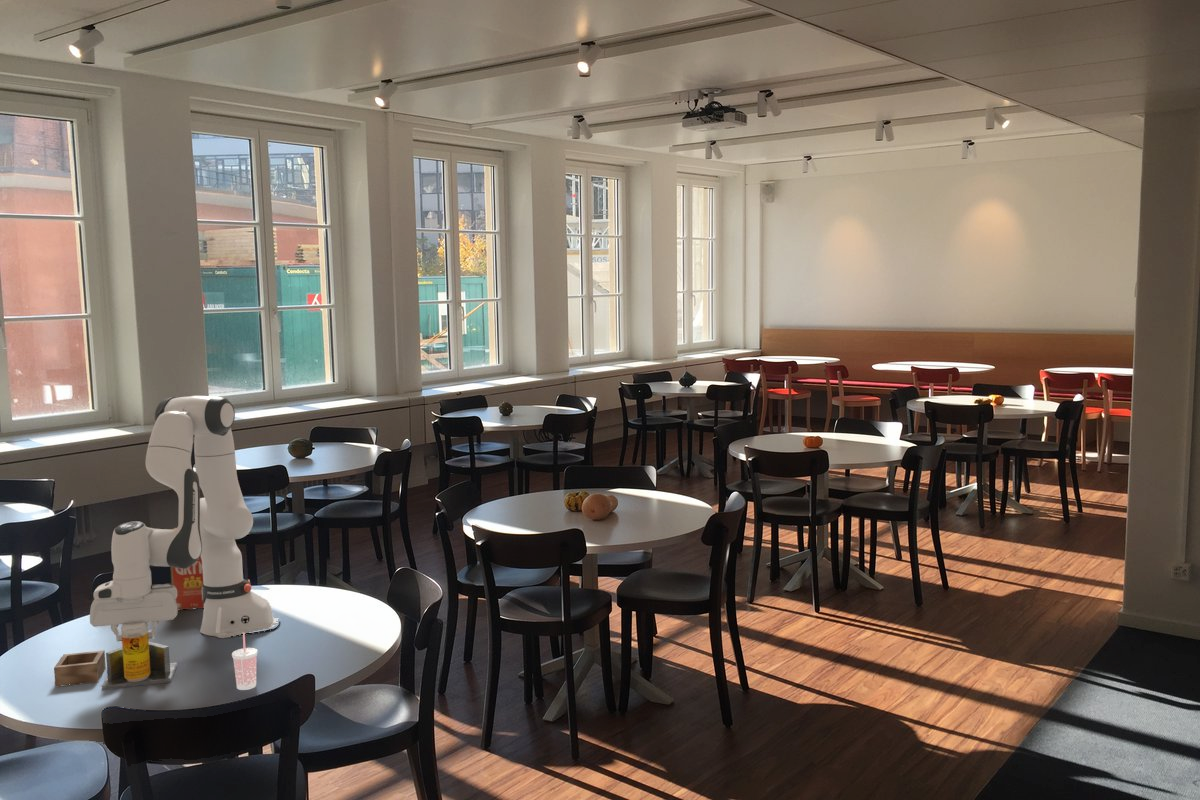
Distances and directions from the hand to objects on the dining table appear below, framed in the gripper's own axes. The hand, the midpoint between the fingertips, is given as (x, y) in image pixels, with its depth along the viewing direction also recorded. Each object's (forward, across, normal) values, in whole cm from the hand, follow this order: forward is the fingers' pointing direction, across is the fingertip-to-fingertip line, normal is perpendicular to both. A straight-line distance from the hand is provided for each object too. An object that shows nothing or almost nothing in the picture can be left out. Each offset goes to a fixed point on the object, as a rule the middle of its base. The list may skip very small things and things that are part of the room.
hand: (135, 639), depth 251 cm
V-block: (+11, 0, -2) cm, 11 cm away
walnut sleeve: (+11, +15, -7) cm, 20 cm away
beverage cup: (+11, -27, +13) cm, 32 cm away
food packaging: (+11, -7, -63) cm, 65 cm away
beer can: (+10, 0, +1) cm, 10 cm away
